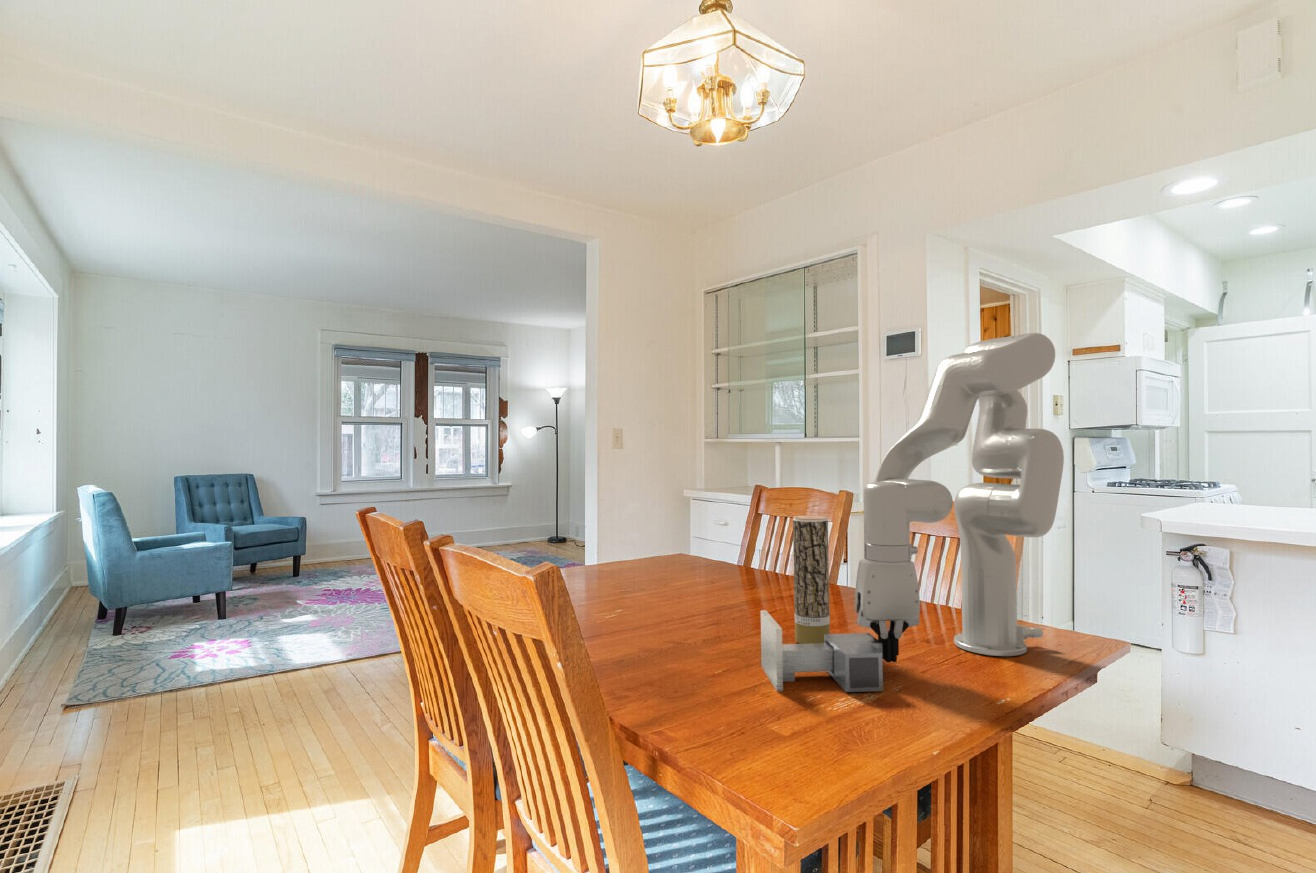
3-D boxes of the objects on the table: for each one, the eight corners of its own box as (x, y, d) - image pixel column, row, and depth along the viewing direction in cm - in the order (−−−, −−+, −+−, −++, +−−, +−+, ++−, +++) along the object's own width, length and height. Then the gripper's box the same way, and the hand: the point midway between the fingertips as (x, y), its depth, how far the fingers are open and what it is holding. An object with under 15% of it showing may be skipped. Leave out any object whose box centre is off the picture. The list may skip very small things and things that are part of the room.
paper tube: (831, 648, 127) (828, 519, 127) (795, 646, 128) (793, 519, 129) (829, 638, 133) (826, 515, 134) (795, 636, 135) (792, 515, 135)
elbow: (869, 667, 115) (868, 633, 115) (895, 691, 104) (895, 653, 104) (824, 668, 115) (824, 634, 115) (846, 692, 104) (845, 654, 104)
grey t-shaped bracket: (823, 664, 118) (822, 608, 118) (845, 689, 106) (844, 627, 106) (761, 666, 117) (760, 610, 117) (776, 691, 105) (775, 629, 105)
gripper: (919, 549, 118) (920, 651, 117) (837, 550, 117) (838, 654, 117) (939, 556, 110) (941, 665, 110) (852, 557, 109) (853, 668, 109)
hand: (888, 659), depth 113 cm, fingers closed
